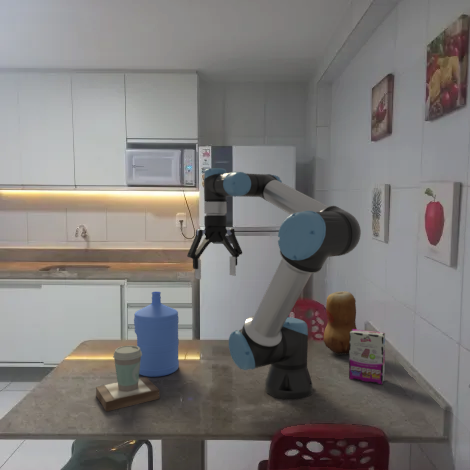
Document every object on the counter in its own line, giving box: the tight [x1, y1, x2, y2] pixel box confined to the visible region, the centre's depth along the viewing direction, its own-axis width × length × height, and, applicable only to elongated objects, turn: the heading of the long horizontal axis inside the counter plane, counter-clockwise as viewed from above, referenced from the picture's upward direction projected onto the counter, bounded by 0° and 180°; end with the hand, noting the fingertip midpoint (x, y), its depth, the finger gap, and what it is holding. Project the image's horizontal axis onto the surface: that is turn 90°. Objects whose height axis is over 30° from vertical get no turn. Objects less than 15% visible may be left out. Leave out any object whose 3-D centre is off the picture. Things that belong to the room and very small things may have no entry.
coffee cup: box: [112, 344, 142, 391], centre depth 132 cm, size 9×8×12 cm
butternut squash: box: [323, 290, 358, 356], centre depth 171 cm, size 14×13×25 cm
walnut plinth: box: [95, 376, 160, 412], centre depth 132 cm, size 12×16×3 cm
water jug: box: [133, 291, 180, 378], centre depth 154 cm, size 16×16×28 cm
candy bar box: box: [348, 329, 386, 385], centre depth 146 cm, size 11×5×16 cm, turn 64°
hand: (215, 277), depth 147 cm, fingers open, 13 cm apart
